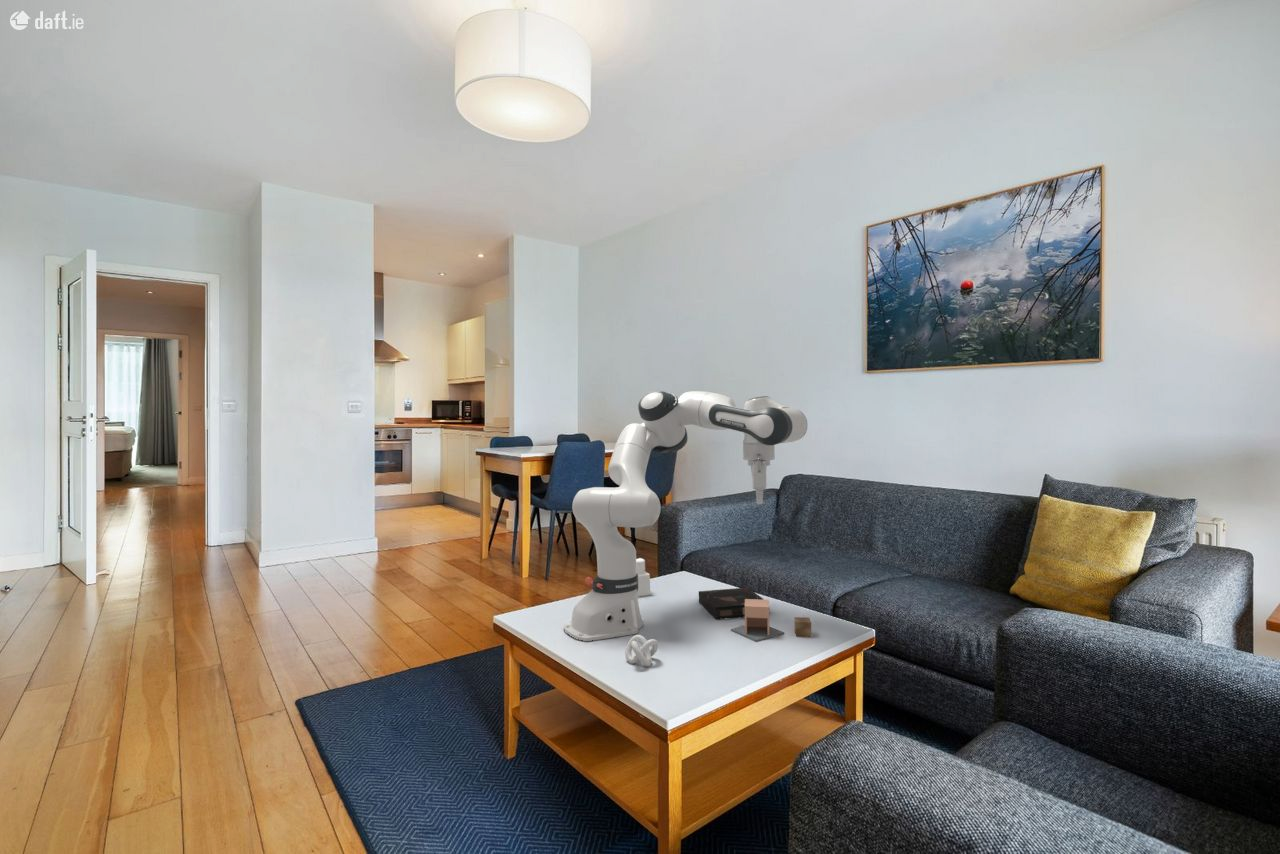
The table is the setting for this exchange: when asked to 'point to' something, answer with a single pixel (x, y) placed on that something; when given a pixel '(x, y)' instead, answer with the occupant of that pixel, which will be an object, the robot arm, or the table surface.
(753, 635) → the slate mat
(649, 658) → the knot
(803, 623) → the walnut block
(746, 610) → the tan square arch
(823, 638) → the table surface
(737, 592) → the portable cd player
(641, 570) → the white block with cylinder
